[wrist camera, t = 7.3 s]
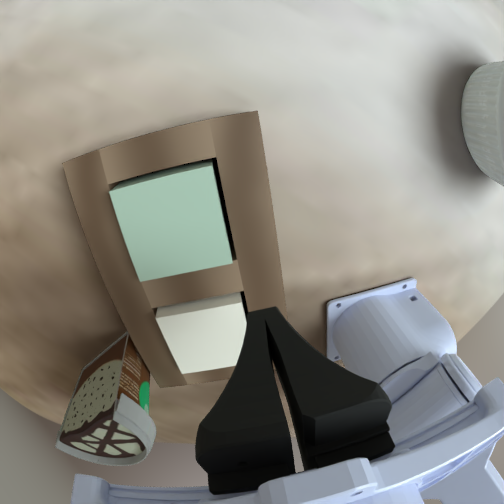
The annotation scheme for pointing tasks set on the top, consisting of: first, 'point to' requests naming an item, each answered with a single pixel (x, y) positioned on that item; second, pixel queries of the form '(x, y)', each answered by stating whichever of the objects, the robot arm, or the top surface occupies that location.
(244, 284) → the key console
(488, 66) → the ramekin
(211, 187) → the sage key
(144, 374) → the food container
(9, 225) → the top surface
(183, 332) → the cream key
